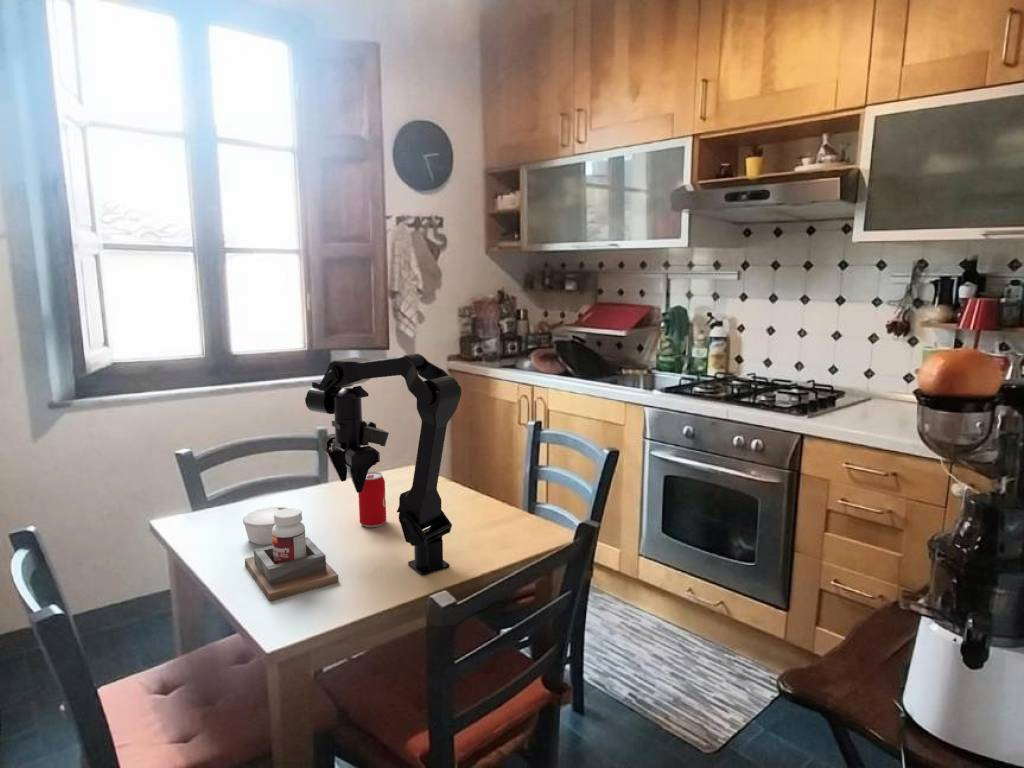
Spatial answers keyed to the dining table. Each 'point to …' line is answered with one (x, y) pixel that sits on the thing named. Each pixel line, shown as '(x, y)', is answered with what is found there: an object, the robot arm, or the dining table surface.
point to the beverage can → (373, 501)
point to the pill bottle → (288, 535)
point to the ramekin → (261, 525)
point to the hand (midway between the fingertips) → (351, 486)
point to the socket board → (290, 572)
